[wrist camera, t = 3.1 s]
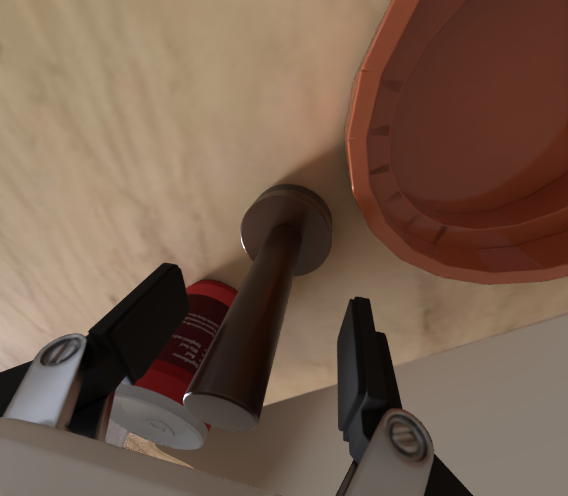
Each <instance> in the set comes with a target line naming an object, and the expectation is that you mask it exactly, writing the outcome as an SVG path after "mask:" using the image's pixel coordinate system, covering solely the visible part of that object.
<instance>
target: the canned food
mask: <svg viewBox="0 0 568 496" xmlns="http://www.w3.org/2000/svg"><path fill="white" fill-rule="evenodd" d="M186 292H187V296H188V300H189V305H190V310H189V313H188V314H187V316H186V317H185V319H184V320H183V322H182V323H181V324H180V326H179V327H178V329H177V330H176V331H175V333H174V334H173V336H172V337H171V338H170V340H169V341H168V343H167V344H166V346H165V347H164V348H163V350H162V351H161V353H160V354H159V355H158V357H157V358H156V360H155V361H154V362H153V364H152V365H151V367H150V368H149V369H148V371H147V372H146V374H145V375H144V376H143V377H142V378H141V379H138V380H137V382H136V383H135V384H134V386H130V385H126V384H122V383H120V385H119V386H118V387H117V388H116V391H115V396H114V401H113V405H112V410H111V415H110V419H111V420H112V421H113V422H115V423H116V424H118V425H119V426H121V427H123V428H124V429H126V430H128V431H130V432H131V433H133V434H135V435H137V436H140V437H142V438H144V439H146V440H149V441H152V442H154V443H157V444H160V445H163V446H167V447H171V448H176V449H184V450H191V449H197V448H200V447H201V446H202V445H203V443H204V440H205V438H206V437H207V435H208V432H209V430H210V427H211V425H209V424H207V423H205V422H203V421H201V420H200V419H198V418H196V417H195V416H194V415H192V414H191V413H190V412H189V411H188V410H187V409H186V407H185V406H184V403H183V398H184V395H185V393H186V391H187V389H188V387H189V385H190V383H191V381H192V379H193V377H194V375H195V374H196V372H197V370H198V368H199V366H200V364H201V362H202V360H203V358H204V356H205V354H206V352H207V350H208V349H209V347H210V345H211V343H212V341H213V339H214V337H215V335H216V333H217V331H218V329H219V327H220V326H221V324H222V322H223V320H224V318H225V316H226V314H227V312H228V310H229V308H230V306H231V304H232V302H233V301H234V299H235V297H236V295H237V293H238V292H237V291H236V290H235V289H233V288H231V287H230V286H228V285H226V284H223V283H221V282H217V281H212V280H202V281H198V282H196V283H194V284H192V285H191V286H189V287H187V288H186Z"/></svg>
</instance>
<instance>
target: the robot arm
mask: <svg viewBox="0 0 568 496" xmlns="http://www.w3.org/2000/svg"><path fill="white" fill-rule="evenodd" d="M189 310H190V305H189V300H188V296H187V292H186V288H185V284H184V279H183V275H182V271H181V269H180V268H179V267H178V265H176V264H170V263H163V264H161V265H160V266H159V267H158V268H157V269H156V270H155V271H154V272H153V273H152V274H150V275H149V276H148V277H147V278H146V279H145V280H144V281H143V282H142V283H141V284H139V285H138V286H137V287H136V288H135V289H134V290H133V291H132V292H131V293H130V294H128V295H127V296H126V297H125V298H124V299H123V300H122V301H121V302H120V303H119V304H117V305H116V306H115V307H114V308H113V309H112V310H111V311H110V312H109V313H108V314H106V315H105V316H104V317H103V318H102V319H101V320H100V321H99V322H98V323H97V324H95V325H94V326H93V327H92V328H91V329H90V330H89V331H88V332H89V334H88V335H87V336H86V337H85V336H84V335H82V334H76V333H75V334H68V335H65V336H62V337H59V338H57V339H55V340H53V341H52V342H50V343H49V344H47V345H46V346H45V347H44V348H42V349H41V350H40V351H39V353H38V354H37V355H36V357H35V358H34V360H33V361H30V362H27V363H25V364H22V365H19V366H16V367H14V368H11V369H8V370H6V371H3V372H0V496H281V495H278V494H275V493H271V492H268V491H265V490H262V489H258V488H255V487H251V486H248V485H245V484H242V483H239V482H235V481H232V480H229V479H225V478H222V477H219V476H215V475H212V474H209V473H206V472H202V471H199V470H196V469H192V468H189V467H186V466H182V465H179V464H176V463H172V462H169V461H166V460H162V459H159V458H156V457H152V456H149V455H145V454H142V453H139V452H135V451H132V450H129V449H125V448H122V447H118V446H115V445H112V444H108V443H105V438H106V434H107V429H108V424H109V419H110V415H111V410H112V405H113V401H114V396H115V391H116V388H117V387H118V386H119V385H120V383H122V384H126V385H130V386H134V384H135V383H136V382H137V380H138V379H141V378H142V377H143V376H144V375H145V374H146V372H147V371H148V369H149V368H150V367H151V365H152V364H153V362H154V361H155V360H156V358H157V357H158V355H159V354H160V353H161V351H162V350H163V348H164V347H165V346H166V344H167V343H168V341H169V340H170V338H171V337H172V336H173V334H174V333H175V331H176V330H177V329H178V327H179V326H180V324H181V323H182V322H183V320H184V319H185V317H186V316H187V314H188V313H189ZM337 361H338V428H339V430H340V431H343V440H344V441H347V442H349V452H350V455H351V456H352V458H353V459H354V460H353V462H352V464H351V466H350V468H349V470H348V472H347V474H346V476H345V478H344V480H343V482H342V484H341V486H340V488H339V490H338V492H337V494H336V496H473V495H472V494H471V493H470V492H469V491H468V490H467V488H466V487H464V485H463V484H462V483H461V482H460V481H459V480H458V479H457V478H456V477H455V476H454V474H453V473H452V472H451V471H450V470H449V469H448V468H447V467H446V466H445V465H444V463H442V461H441V460H440V459H439V458H438V457H437V456H436V455H435V454H434V447H433V443H432V440H431V437H430V435H429V433H428V431H427V430H426V428H425V427H424V425H423V424H422V422H420V421H419V420H418V419H417V418H416V417H415V416H414V415H413V414H411V413H409V412H408V411H406V410H403V409H402V404H401V400H400V395H399V391H398V387H397V382H396V378H395V373H394V369H393V364H392V360H391V355H390V351H389V346H388V342H387V338H386V335H385V334H384V333H382V332H376V331H375V326H374V321H373V315H372V310H371V304H370V300H369V299H367V298H362V297H355V298H354V299H350V301H349V304H348V307H347V310H346V313H345V316H344V320H343V323H342V326H341V329H340V332H339V336H338V341H337Z"/></svg>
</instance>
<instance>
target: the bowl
mask: <svg viewBox="0 0 568 496" xmlns="http://www.w3.org/2000/svg"><path fill="white" fill-rule="evenodd" d="M344 139H345V148H346V158H347V167H348V173H349V178H350V182H351V187H352V192H353V195H354V197H355V199H356V201H357V203H358V205H359V207H360V210H361V212H362V214H363V216H364V218H365V220H366V222H367V224H368V226H369V228H370V230H371V232H372V233H373V234H374V235H375V236H376V237H377V238H378V239H379V240H380V241H381V242H382V243H384V244H385V245H386V246H387V247H388V248H389V249H390V250H391V251H392V252H393V253H394V254H395V255H396V256H397V257H398V258H399V259H402V260H403V261H405V262H407V263H410V264H412V265H414V266H416V267H418V268H421V269H423V270H425V271H427V272H429V273H432V274H434V275H436V276H438V277H442V278H448V279H454V280H460V281H467V282H473V283H479V284H488V285H491V284H509V283H528V282H543V281H549V280H553V279H557V278H562V277H566V276H568V0H391V2H390V4H389V6H388V8H387V10H386V12H385V13H384V15H383V17H382V19H381V21H380V23H379V25H378V27H377V29H376V31H375V33H374V35H373V38H372V40H371V42H370V44H369V46H368V49H367V51H366V53H365V55H364V57H363V59H362V62H361V64H360V66H359V68H358V70H357V73H356V75H355V77H354V81H353V82H352V88H351V93H350V99H349V104H348V109H347V115H346V120H345V126H344Z"/></svg>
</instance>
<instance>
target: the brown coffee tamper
mask: <svg viewBox="0 0 568 496" xmlns="http://www.w3.org/2000/svg"><path fill="white" fill-rule="evenodd" d="M241 240H242V244H243V246H244V249H245V251H246V252H247V254H248V255H249V257H250V258H251V259H252V260H253V261H254V262H253V264H252V266H251V268H250V270H249V272H248V274H247V276H246V277H245V279H244V281H243V283H242V285H241V287H240V289H239V291H238V293H237V295H236V297H235V299H234V301H233V302H232V304H231V306H230V308H229V310H228V312H227V314H226V316H225V318H224V320H223V322H222V324H221V326H220V327H219V329H218V331H217V333H216V335H215V337H214V339H213V341H212V343H211V345H210V347H209V349H208V350H207V352H206V354H205V356H204V358H203V360H202V362H201V364H200V366H199V368H198V370H197V372H196V374H195V375H194V377H193V379H192V381H191V383H190V385H189V387H188V389H187V391H186V393H185V395H184V398H183V403H184V406H185V407H186V409H187V410H188V411H189V412H190V413H191V414H192V415H194V416H195V417H196V418H198V419H200V420H201V421H203V422H205V423H207V424H209V425H212V426H214V427H217V428H220V429H224V430H228V431H235V432H244V431H250V430H252V429H254V428H255V427H256V426H257V425H258V422H259V418H260V414H261V410H262V406H263V402H264V398H265V393H266V389H267V385H268V381H269V377H270V373H271V368H272V364H273V360H274V356H275V352H276V348H277V344H278V339H279V335H280V331H281V327H282V323H283V319H284V314H285V310H286V306H287V302H288V298H289V294H290V290H291V285H292V281H293V277H294V276H301V275H304V274H308V273H310V272H312V271H314V270H315V269H317V268H318V267H319V266H320V265H321V264H322V263H323V262H324V261H325V260H326V258H327V256H328V254H329V252H330V249H331V243H332V219H331V214H330V211H329V209H328V207H327V205H326V204H325V202H324V201H323V200H322V199H321V198H320V197H319V196H318V195H317V194H316V193H314V192H313V191H311V190H309V189H307V188H305V187H302V186H299V185H292V184H285V185H278V186H275V187H272V188H270V189H268V190H266V191H265V192H264V193H262V194H261V195H260V196H259V197H258V199H257V200H256V201H255V202H254V203H253V205H252V206H251V207H250V208H249V209H248V211H247V212H246V214H245V215H244V217H243V220H242V223H241Z"/></svg>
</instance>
